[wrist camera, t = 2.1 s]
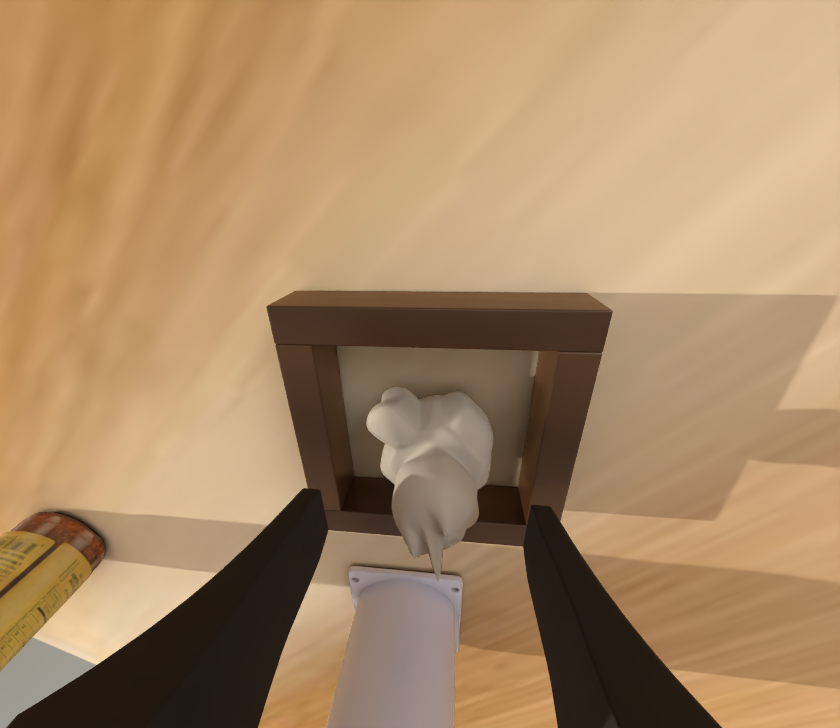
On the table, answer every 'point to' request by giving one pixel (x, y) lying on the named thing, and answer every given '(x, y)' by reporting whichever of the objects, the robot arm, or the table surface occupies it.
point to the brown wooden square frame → (440, 328)
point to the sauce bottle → (41, 574)
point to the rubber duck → (433, 465)
